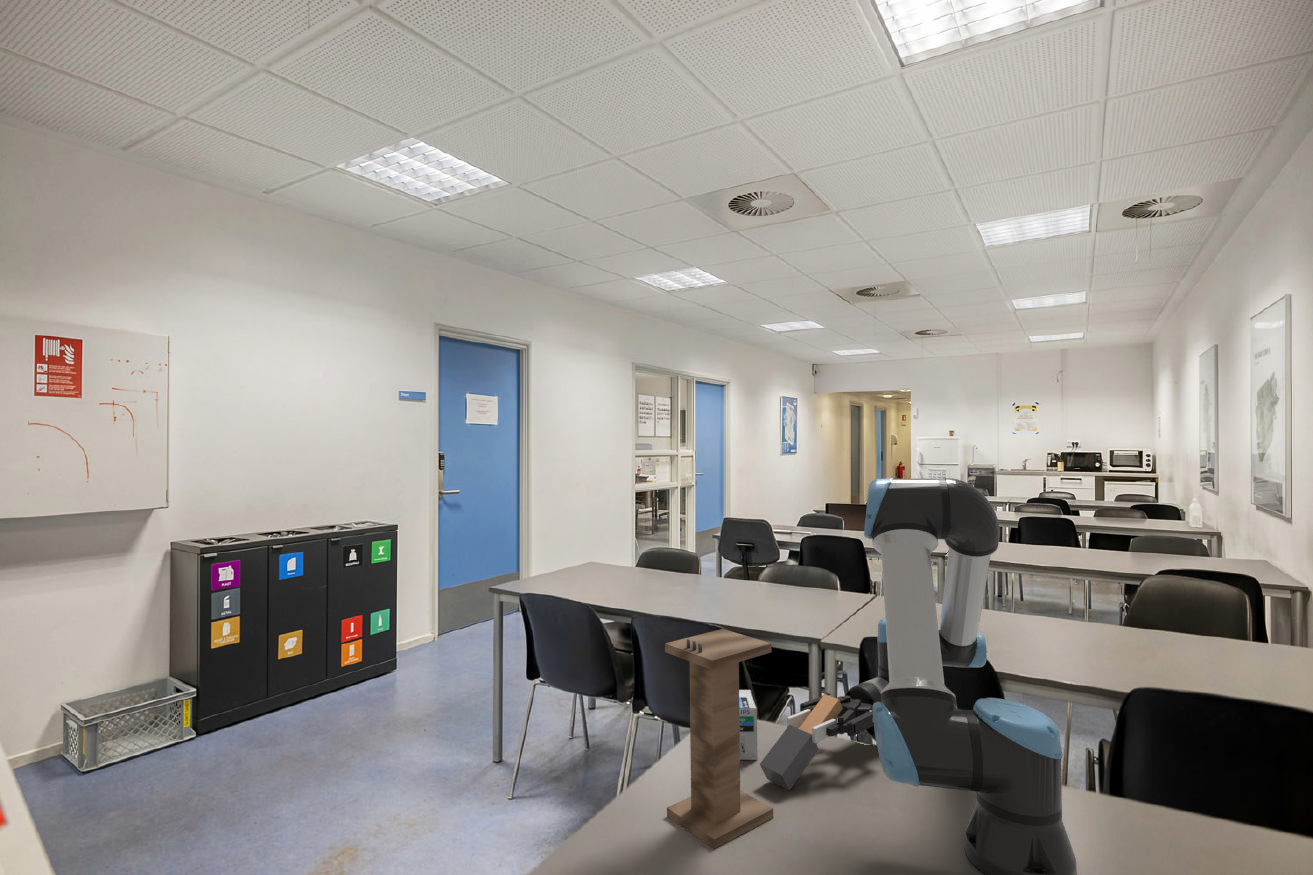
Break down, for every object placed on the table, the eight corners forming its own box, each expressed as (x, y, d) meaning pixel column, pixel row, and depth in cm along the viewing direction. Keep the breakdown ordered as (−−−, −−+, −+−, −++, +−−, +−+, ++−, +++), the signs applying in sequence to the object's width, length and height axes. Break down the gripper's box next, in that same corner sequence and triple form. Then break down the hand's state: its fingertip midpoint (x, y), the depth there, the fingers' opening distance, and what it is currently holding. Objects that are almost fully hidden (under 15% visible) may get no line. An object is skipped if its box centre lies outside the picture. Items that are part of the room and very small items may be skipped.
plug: (847, 709, 134) (840, 695, 133) (789, 790, 123) (782, 775, 121) (824, 701, 138) (818, 687, 137) (767, 778, 127) (759, 763, 126)
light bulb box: (758, 760, 136) (757, 707, 136) (725, 761, 136) (724, 707, 136) (752, 737, 146) (751, 688, 146) (721, 737, 146) (720, 688, 147)
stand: (773, 817, 115) (771, 635, 115) (714, 848, 106) (712, 651, 107) (724, 789, 124) (722, 621, 125) (666, 816, 116) (664, 635, 116)
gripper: (910, 731, 136) (840, 767, 122) (835, 704, 151) (765, 733, 136) (909, 695, 136) (840, 726, 122) (834, 671, 151) (764, 696, 136)
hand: (800, 729), depth 129 cm, fingers closed on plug, 5 cm apart
